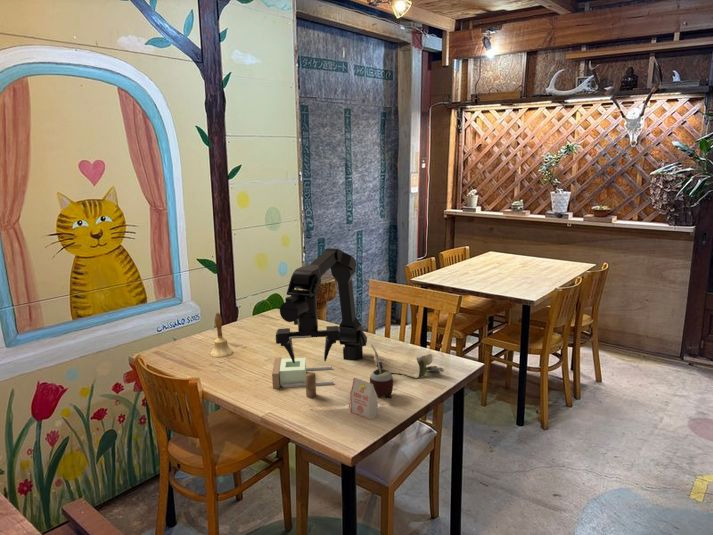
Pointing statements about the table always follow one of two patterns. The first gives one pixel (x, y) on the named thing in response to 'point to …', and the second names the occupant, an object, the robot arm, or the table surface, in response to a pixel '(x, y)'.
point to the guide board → (277, 383)
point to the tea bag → (363, 399)
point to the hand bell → (220, 341)
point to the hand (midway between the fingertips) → (309, 361)
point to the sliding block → (292, 371)
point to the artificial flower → (420, 366)
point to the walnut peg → (310, 385)
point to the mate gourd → (382, 380)
